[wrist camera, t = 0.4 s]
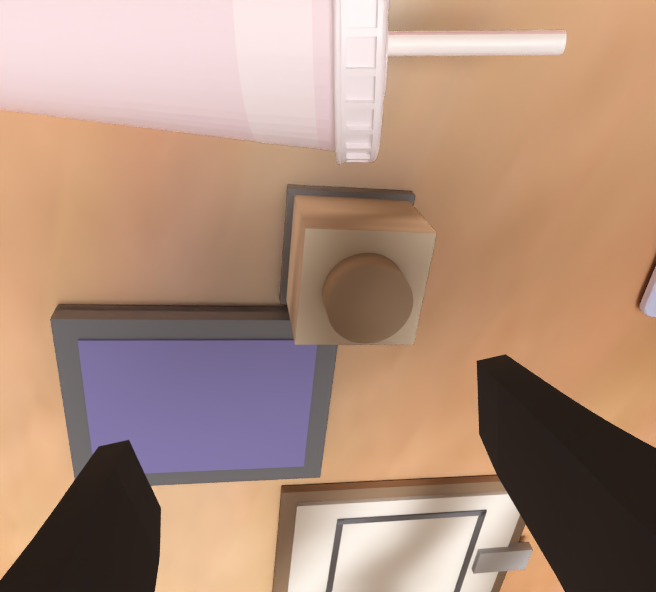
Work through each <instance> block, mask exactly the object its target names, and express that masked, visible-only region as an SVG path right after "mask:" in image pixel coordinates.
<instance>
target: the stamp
mask: <svg viewBox="0 0 656 592" xmlns="http://www.w3.org/2000/svg"><path fill="white" fill-rule="evenodd" d="M414 200H415V194H414V193H413V192H412V191H405V190H386V189H368V188H349V187H330V186H311V185H292V184H288V186H287V200H286V214H285V228H284V242H283V255H282V269H281V283H280V297H279V298H280V304H287V306H288V311H289V316H290V321H291V326H292V332H293V337H294V342H295V345H414V340H415V336H416V331H417V326H418V321H419V316H420V312H421V307H422V302H423V297H424V293H425V288H426V283H427V278H428V273H429V269H430V264H431V259H432V254H433V250H434V245H435V240H436V235H437V233H436V232H435V231H434V230H433V228H432V227H431V226H430V225H429V224H428V222H427V221H426V220H425V219H424V218H423V217H422V215H421V214H420V213H419V212H418V211H417V210H416V208H415V207H414V206H413V205H414Z"/></svg>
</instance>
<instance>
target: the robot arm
mask: <svg viewBox="0 0 656 592" xmlns="http://www.w3.org/2000/svg"><path fill="white" fill-rule="evenodd" d="M640 310H641V311H642V312H643V313H644V314H645V315H647V316H649V317H656V267H655V269H654V271H653V274H652V276H651V279H650V281H649V283H648V286H647V288H646V291H645V293H644V295H643V298H642V300H641V303H640ZM477 380H478V410H479V434H480V437H481V439H482V441H483V444H484V446H485V448H486V451H487V453H488V455H489V458H490V460H491V462H492V464H493V467H494V469H495V471H496V473H497V476H498V478H499V479H500V481H501V483H502V485H503V486H504V488H505V490H506V492H507V493H508V495H509V497H510V498H511V500H512V502H513V504H514V505H515V507H516V509H517V510H518V512H519V514H520V515H521V517H522V519H523V520H524V522H525V524H526V526H527V527H528V529H529V531H530V532H531V534H532V536H533V537H534V539H535V541H536V542H537V544H538V546H539V547H540V549H541V551H542V552H543V554H544V556H545V558H546V559H547V561H548V563H549V564H550V566H551V568H552V569H553V571H554V573H555V574H556V576H557V578H558V580H559V582H560V584H561V585H562V587H563V589H564V591H565V592H656V448H655V447H653V446H651V445H649V444H647V443H645V442H643V441H641V440H640V439H638V438H636V437H634V436H633V435H631V434H629V433H627V432H625V431H624V430H622V429H620V428H618V427H616V426H615V425H613V424H611V423H610V422H608V421H606V420H605V419H603V418H601V417H600V416H598V415H596V414H595V413H593V412H591V411H590V410H588V409H587V408H585V407H583V406H582V405H580V404H579V403H577V402H575V401H574V400H572V399H571V398H569V397H568V396H566V395H565V394H563V393H562V392H560V391H559V390H557V389H556V388H554V387H553V386H551V385H550V384H548V383H547V382H545V381H544V380H542V379H541V378H539V377H538V376H536V375H535V374H533V373H532V372H531V371H529V370H528V369H526V368H525V367H523V366H522V365H520V364H519V363H517V362H516V361H514V360H513V359H511V358H510V357H508V356H507V355H501V356H497V357H492V358H488V359H483V360H479V361H477ZM160 527H161V507H160V505H159V503H158V501H157V499H156V497H155V495H154V492H153V490H152V488H151V486H150V484H149V482H148V480H147V477H146V475H145V473H144V471H143V469H142V467H141V464H140V462H139V460H138V458H137V456H136V454H135V452H134V449H133V447H132V445H131V443H130V441H129V440H125V441H121V442H116V443H112V444H107V445H103V446H99V447H98V448H97V449H96V451H95V452H94V453H93V455H92V456H91V458H90V459H89V460H88V462H87V463H86V465H85V466H84V468H83V469H82V470H81V472H80V473H79V475H78V476H77V478H76V479H75V480H74V482H73V483H72V485H71V486H70V488H69V489H68V490H67V492H66V493H65V495H64V496H63V498H62V499H61V500H60V502H59V503H58V505H57V506H56V508H55V509H54V510H53V512H52V513H51V515H50V516H49V517H48V519H47V520H46V521H45V523H44V524H43V526H42V527H41V528H40V530H39V531H38V532H37V534H36V535H35V537H34V538H33V539H32V541H31V542H30V543H29V545H28V546H27V547H26V548H25V550H24V551H23V552H22V553H21V555H20V556H19V557H18V559H17V560H16V561H15V562H14V564H13V565H12V566H11V567H10V569H9V570H8V571H7V573H6V574H5V575H4V576H3V578H2V579H1V580H0V592H155V585H156V579H157V572H158V565H159V557H160Z"/></svg>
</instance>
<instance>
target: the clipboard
mask: <svg viewBox="0 0 656 592" xmlns="http://www.w3.org/2000/svg"><path fill="white" fill-rule="evenodd" d="M524 527H525V522H524V520H523V519H522V517H521V515H520V514H519V512H518V510H517V509H516V507H515V505H514V504H513V502H512V500H511V498H510V497H509V495H508V493H507V492H506V490H505V488H504V486H503V485H502V483H501V481H500V479H499V478H498V476H497V475H492V476H472V477H453V478H433V479H413V480H393V481H374V482H354V483H334V484H314V485H294V486H282V489H281V501H280V512H279V523H278V535H277V546H276V558H275V569H274V581H273V592H499V591H500V588H501V586H502V583H503V581H504V578H505V576H506V573H507V571H512V570H523V569H525V568H526V566H527V563H528V561H529V558H530V556H531V553H532V551H533V549H532V547H531V545H530V544H529V542H519V540H520V537H521V534H522V532H523V529H524ZM518 542H519V543H518Z"/></svg>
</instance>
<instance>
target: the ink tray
mask: <svg viewBox="0 0 656 592" xmlns="http://www.w3.org/2000/svg"><path fill="white" fill-rule="evenodd" d="M50 320H51V327H52V333H53V340H54V346H55V353H56V359H57V366H58V372H59V379H60V386H61V392H62V399H63V405H64V412H65V418H66V425H67V431H68V438H69V445H70V451H71V458H72V464H73V471H74V477H75V479H76V478H77V476H78V475H79V473H80V472H81V470H82V469H83V468H84V466H85V465H86V463H87V462H88V460H89V459H90V458H91V456H92V455H93V453H94V452H95V451H96V449H97V448H98V447H99V446H103V445H107V444H112V443H116V442H121V441H125V440H129V441H130V443H131V445H132V447H133V449H134V452H135V454H136V456H137V458H138V460H139V462H140V464H141V467H142V469H143V471H144V473H145V475H146V477H147V480H148V482H149V484H150V486H153V485H174V484H194V483H215V482H236V481H257V480H277V479H298V478H319V477H320V475H321V467H322V459H323V452H324V444H325V436H326V429H327V421H328V413H329V406H330V398H331V390H332V383H333V375H334V368H335V360H336V352H337V345H295V342H294V337H293V332H292V326H291V321H290V316H289V311H288V307H251V306H149V305H58V306H57V308H56V309H55V311H54V313H53V315H52V317H51V319H50Z"/></svg>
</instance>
